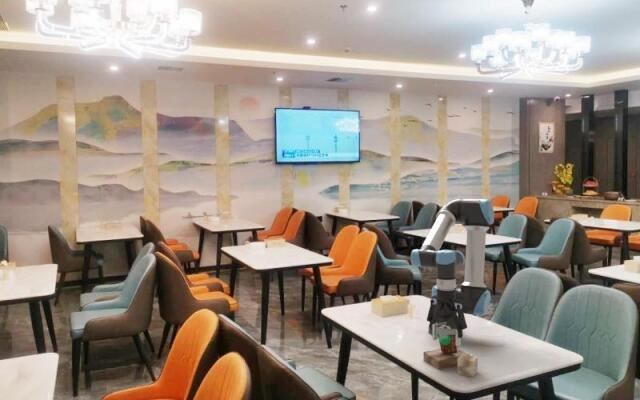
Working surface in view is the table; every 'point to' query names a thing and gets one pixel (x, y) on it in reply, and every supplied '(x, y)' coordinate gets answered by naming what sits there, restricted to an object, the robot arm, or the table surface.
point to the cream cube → (467, 365)
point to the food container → (447, 338)
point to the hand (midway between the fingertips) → (446, 342)
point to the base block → (443, 358)
